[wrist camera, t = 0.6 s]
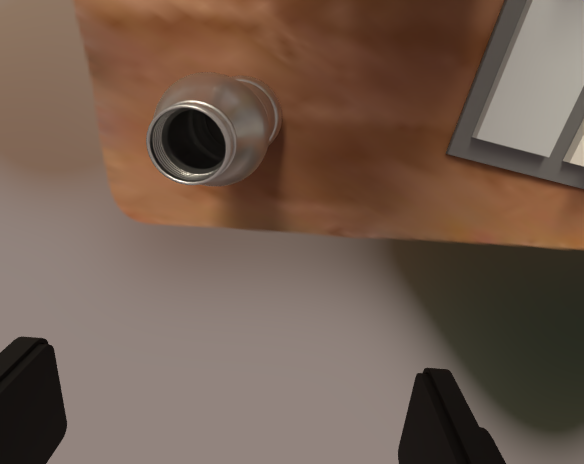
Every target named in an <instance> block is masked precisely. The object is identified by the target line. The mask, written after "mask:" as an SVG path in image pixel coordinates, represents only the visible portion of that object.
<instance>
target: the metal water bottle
mask: <svg viewBox="0 0 584 464" xmlns="http://www.w3.org/2000/svg"><path fill="white" fill-rule="evenodd" d="M281 124H282V110H281V105H280V102H279V100H278V98H277V96H276V95H275V93H274V92H273V90H272V89H271V88H270V87H269V86H268V85H266V84H265V83H263V82H262V81H260V80H258V79H256V78H253V77H249V76H234V77H229V76H227V75H223V74H218V73H213V72H201V73H196V74H191V75H188V76H186V77H184V78H181V79H179V80H178V81H177V82H175V83H174V84H172V85H171V86H170V87H169V88H168V89H167V91H166V92H165V93H164V94H163V96H162V97H161V99H160V101H159V103H158V105H157V107H156V111H155V114H154V118H153V120H152V122H151V124H150V125H149V128H148V132H147V138H146V144H147V150H148V153H149V156H150V158H151V160H152V162H153V164H154V165H155V167H156V168H157V169H158V170H159V171H160V172H161V173H162V174H163V175H164V176H166V177H167V178H169V179H171V180H172V181H175V182H177V183H181V184H185V185H198V184H201V185H205V186H225V185H231V184H234V183H237V182H239V181H241V180H243V179H245V178H246V177H248V176H250V175H251V174H252V173H253V172H254V171H255V170H256V169H257V168H258V166H259V165H260V163H261V162H262V161H263V159H264V156H265V154H266V152H267V149H268V146H269V145H270V144H271V143H272V142H273V141H274V140H275V138H276V137H277V135H278V133H279V131H280V128H281Z"/></svg>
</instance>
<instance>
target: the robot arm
mask: <svg viewBox="0 0 584 464" xmlns="http://www.w3.org/2000/svg"><path fill="white" fill-rule="evenodd" d="M66 428H67V420H66V415H65V409H64V403H63V398H62V393H61V386H60V381H59V376H58V370H57V364H56V358H55V353H54V348H53V346H52V345H49V344H48V342H47V340H46V339H43V338H32V337H18V338H17V339H15V340H14V341H13V342H12V343H11V344H10V345H8V346H7V347H6V348H5V349H4V350H3V351H2V352H1V353H0V464H46V463H47V462H48V460H49V458H50V457H51V456H52V454H53V453H54V451H55V450H56V448H57V447H58V445H59V444H60V442H61V440H62V439H63V437H64V435H65V432H66ZM398 460H399V464H506V463H505V461H504V459H503V458H502V455H501V453H500V452H499V450H498V448H497V446H496V444H495V442H494V440H493V439H492V437H491V435H490V434H489V433H488V431H487V430H486V429H484V428H481V427H479V426H478V424H477V422H476V420H475V418H474V416H473V414H472V412H471V410H470V408H469V406H468V404H467V403H466V400H465V398H464V396H463V394H462V393H461V391H460V389H459V387H458V385H457V383H456V381H455V379H454V377H453V375H452V373H451V372H450V371H449V370H447V369H435V368H425V369H424V371H423V373H418V374H417V375H416V378H415V382H414V386H413V391H412V395H411V399H410V403H409V407H408V412H407V415H406V420H405V424H404V428H403V432H402V436H401V440H400V444H399V449H398Z"/></svg>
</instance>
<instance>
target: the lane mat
mask: <svg viewBox="0 0 584 464" xmlns="http://www.w3.org/2000/svg"><path fill="white" fill-rule="evenodd" d="M526 1H527V0H505V1H504V3H503V6H502V8H501V11H500V14H499V16H498V19H497V21H496V24H495V27H494V29H493V32H492V34H491V37H490V40H489V42H488V45H487V47H486V50H485V53H484V55H483V58H482V60H481V63H480V65H479V68H478V71H477V73H476V76H475V78H474V81H473V84H472V86H471V89H470V91H469V94H468V97H467V99H466V102H465V104H464V107H463V110H462V112H461V115H460V117H459V120H458V123H457V125H456V128H455V130H454V133H453V136H452V138H451V141H450V143H449V146H448V148H447V151H446V154H449V155H453V156H457V157H461V158H465V159H468V160H472V161H476V162H480V163H484V164H488V165H492V166H496V167H500V168H503V169H507V170H511V171H515V172H519V173H523V174H527V175H531V176H535V177H539V178H542V179H546V180H550V181H554V182H558V183H562V184H566V185H570V186H574V187H577V188H581V189H584V166H580V165H576V164H572V163H569V162H565V161H563V159H564V157H565V155H566V153H567V151H568V149H569V147H570V145H571V143H572V141H573V139H574V137H575V135H576V133H577V131H578V129H579V127H580V125H581V123H582V121H583V119H584V86H583V88H582V90H581V92H580V94H579V97H578V99H577V101H576V103H575V105H574V107H573V109H572V111H571V113H570V115H569V117H568V119H567V121H566V123H565V126H564V128H563V130H562V132H561V134H560V136H559V138H558V140H557V142H556V144H555V146H554V148H553V150H552V152H551V154H550V157H546V156H542V155H538V154H534V153H530V152H526V151H523V150H519V149H515V148H511V147H507V146H503V145H500V144H496V143H492V142H488V141H484V140H480V139H477V138H473V137H472V135H473V132H474V130H475V127H476V125H477V123H478V120H479V118H480V115H481V113H482V110H483V108H484V105H485V103H486V100H487V98H488V95H489V93H490V90H491V88H492V85H493V83H494V80H495V78H496V75H497V73H498V70H499V68H500V66H501V63H502V61H503V58H504V56H505V53H506V51H507V48H508V46H509V43H510V41H511V38H512V36H513V33H514V31H515V28H516V26H517V23H518V21H519V18H520V16H521V13H522V11H523V9H524V6H525V4H526Z"/></svg>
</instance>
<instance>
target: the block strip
mask: <svg viewBox="0 0 584 464" xmlns="http://www.w3.org/2000/svg"><path fill="white" fill-rule="evenodd" d="M563 161H565V162H569V163H572V164H576V165H580V166H584V119H583V121H582V123H581V125H580V127H579V129H578V131H577V133H576V135H575V137H574V139H573V141H572V143H571V145H570V147H569V149H568V151H567V153H566V155H565V157H564V159H563Z"/></svg>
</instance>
